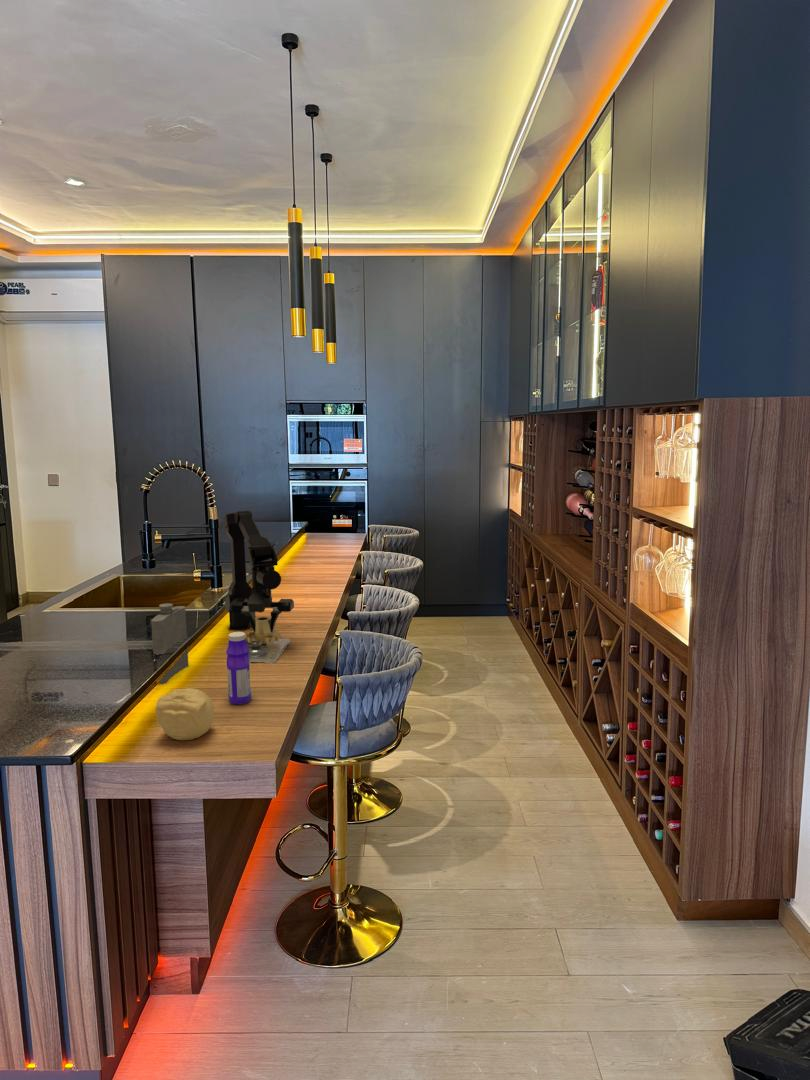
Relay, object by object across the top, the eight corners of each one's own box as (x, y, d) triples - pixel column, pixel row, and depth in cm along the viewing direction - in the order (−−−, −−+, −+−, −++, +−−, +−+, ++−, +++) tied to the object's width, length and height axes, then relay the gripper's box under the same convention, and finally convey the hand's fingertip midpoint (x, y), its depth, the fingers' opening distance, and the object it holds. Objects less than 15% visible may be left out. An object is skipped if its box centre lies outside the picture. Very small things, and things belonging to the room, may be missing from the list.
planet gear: (242, 643, 215) (241, 623, 214) (252, 633, 225) (251, 614, 224) (275, 644, 214) (275, 623, 213) (283, 634, 224) (282, 614, 223)
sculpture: (150, 744, 154) (147, 697, 152) (176, 721, 165) (173, 678, 163) (200, 747, 152) (197, 700, 150) (222, 724, 163) (220, 680, 162)
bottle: (252, 704, 175) (249, 636, 172) (229, 707, 174) (225, 638, 171) (250, 693, 182) (247, 628, 179) (227, 696, 180) (224, 630, 178)
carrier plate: (227, 662, 206) (226, 645, 205) (247, 641, 226) (246, 626, 225) (274, 663, 205) (274, 646, 204) (290, 642, 225) (289, 626, 224)
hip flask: (164, 684, 189) (159, 612, 186) (150, 683, 190) (145, 611, 186) (190, 664, 205) (186, 597, 201) (177, 664, 205) (173, 597, 202)
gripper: (223, 588, 209) (225, 639, 212) (285, 589, 208) (287, 640, 211) (234, 580, 220) (236, 628, 223) (293, 580, 219) (295, 629, 222)
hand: (263, 631), depth 219 cm, fingers closed on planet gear, 5 cm apart
